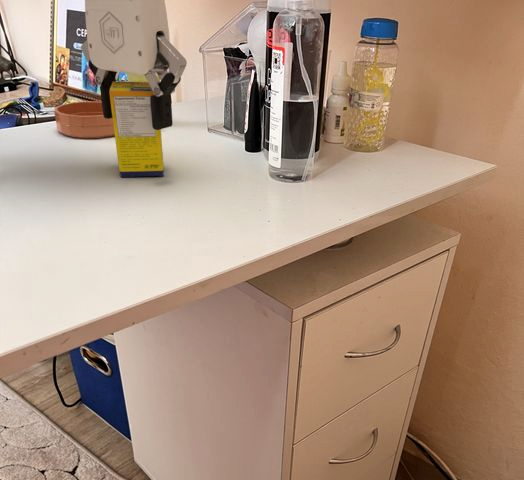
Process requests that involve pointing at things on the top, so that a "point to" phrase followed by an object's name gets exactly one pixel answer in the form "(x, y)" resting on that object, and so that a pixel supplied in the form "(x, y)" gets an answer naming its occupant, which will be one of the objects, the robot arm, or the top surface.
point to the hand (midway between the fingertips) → (137, 121)
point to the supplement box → (135, 130)
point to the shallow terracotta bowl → (83, 120)
